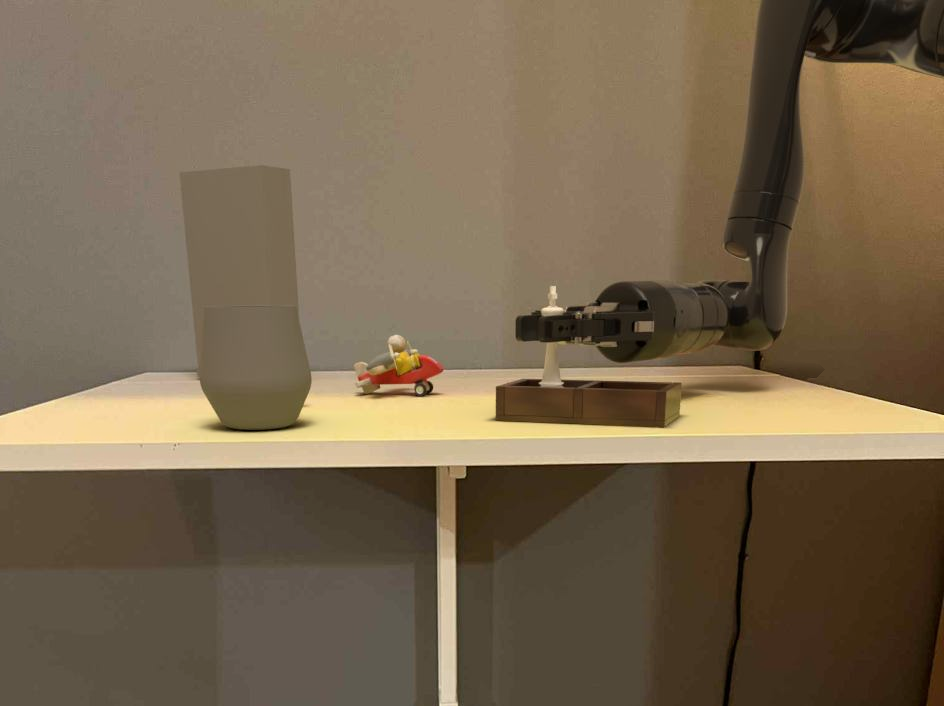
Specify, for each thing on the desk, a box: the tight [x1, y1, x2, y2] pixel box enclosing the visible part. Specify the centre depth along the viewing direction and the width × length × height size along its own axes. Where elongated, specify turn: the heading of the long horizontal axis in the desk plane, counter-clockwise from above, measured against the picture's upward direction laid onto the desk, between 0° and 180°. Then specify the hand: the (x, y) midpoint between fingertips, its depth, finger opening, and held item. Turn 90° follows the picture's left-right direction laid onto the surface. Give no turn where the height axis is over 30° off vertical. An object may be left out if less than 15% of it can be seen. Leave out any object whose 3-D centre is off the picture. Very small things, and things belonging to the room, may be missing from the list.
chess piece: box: [539, 285, 564, 387], centre depth 89 cm, size 5×5×10 cm
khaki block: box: [179, 164, 300, 378], centre depth 126 cm, size 14×6×25 cm, turn 59°
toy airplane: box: [353, 334, 444, 397], centre depth 110 cm, size 9×9×6 cm
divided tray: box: [495, 378, 682, 428], centre depth 89 cm, size 15×8×3 cm, turn 69°
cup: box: [199, 305, 313, 431], centre depth 84 cm, size 10×9×10 cm
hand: (530, 329), depth 86 cm, fingers closed on chess piece
